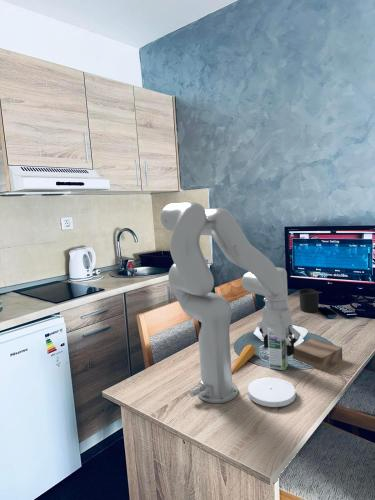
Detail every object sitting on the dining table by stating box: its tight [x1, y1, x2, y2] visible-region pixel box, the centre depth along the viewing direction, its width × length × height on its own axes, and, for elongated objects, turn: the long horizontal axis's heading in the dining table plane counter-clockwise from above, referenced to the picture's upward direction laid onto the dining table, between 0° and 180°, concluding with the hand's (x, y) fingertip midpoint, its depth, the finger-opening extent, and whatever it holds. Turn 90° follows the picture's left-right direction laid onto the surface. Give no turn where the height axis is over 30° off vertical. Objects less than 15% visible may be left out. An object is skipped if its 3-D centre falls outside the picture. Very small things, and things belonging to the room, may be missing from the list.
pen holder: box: [298, 288, 320, 313], centre depth 181 cm, size 9×9×10 cm
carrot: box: [231, 344, 256, 374], centre depth 128 cm, size 20×4×4 cm, turn 147°
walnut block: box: [292, 337, 343, 372], centre depth 127 cm, size 12×12×5 cm
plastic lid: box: [247, 376, 297, 408], centre depth 106 cm, size 14×14×2 cm
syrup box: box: [267, 328, 289, 371], centre depth 124 cm, size 6×6×14 cm
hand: (278, 350), depth 124 cm, fingers open, 9 cm apart
